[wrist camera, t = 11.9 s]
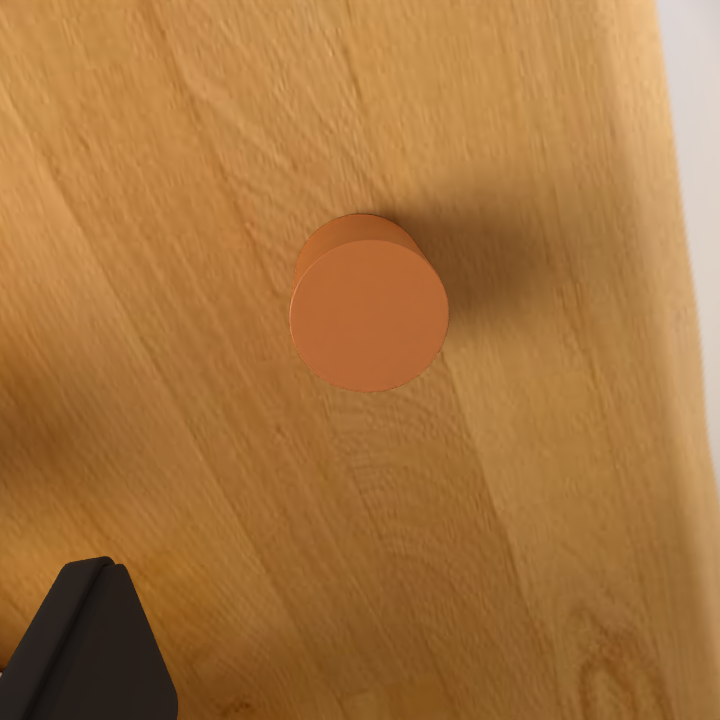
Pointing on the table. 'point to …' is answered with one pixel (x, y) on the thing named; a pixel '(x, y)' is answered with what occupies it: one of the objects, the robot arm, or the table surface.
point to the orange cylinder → (366, 305)
